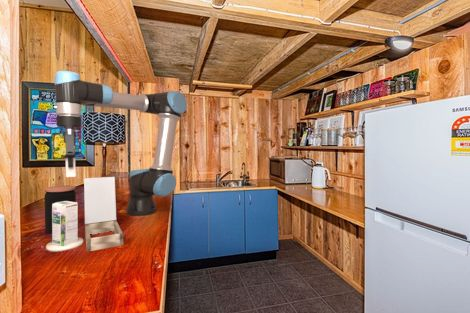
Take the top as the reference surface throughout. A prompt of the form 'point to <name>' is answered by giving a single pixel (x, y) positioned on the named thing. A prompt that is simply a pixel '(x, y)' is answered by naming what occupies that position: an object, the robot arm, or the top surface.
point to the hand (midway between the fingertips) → (70, 174)
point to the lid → (99, 199)
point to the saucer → (62, 248)
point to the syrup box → (64, 223)
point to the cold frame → (104, 240)
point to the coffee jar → (54, 196)
